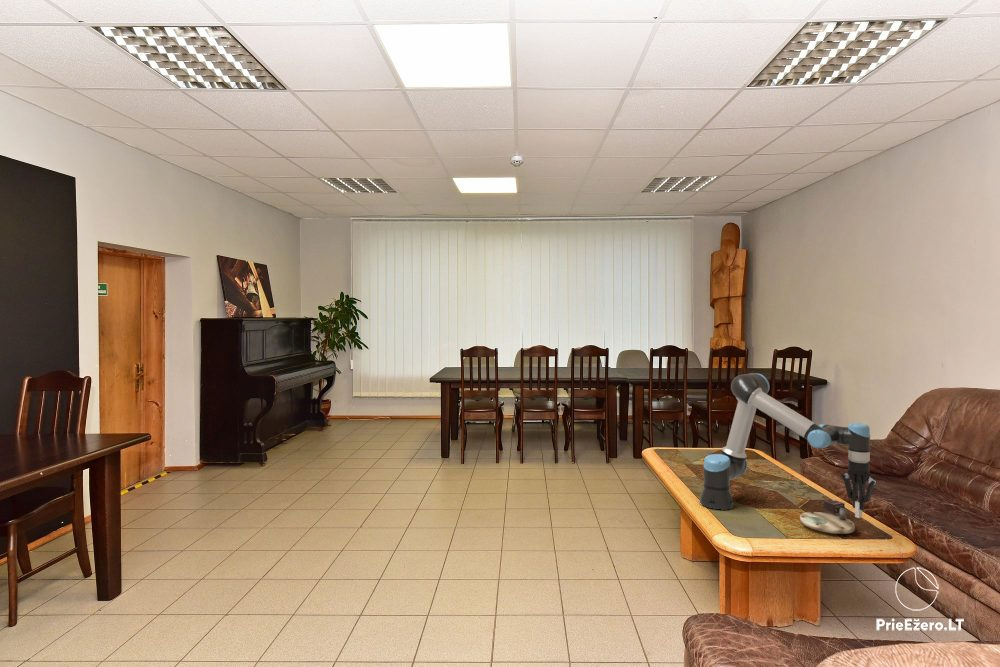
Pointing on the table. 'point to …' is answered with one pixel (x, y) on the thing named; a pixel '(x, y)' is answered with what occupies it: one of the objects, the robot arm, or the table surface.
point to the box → (832, 507)
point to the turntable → (828, 522)
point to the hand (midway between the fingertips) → (858, 516)
